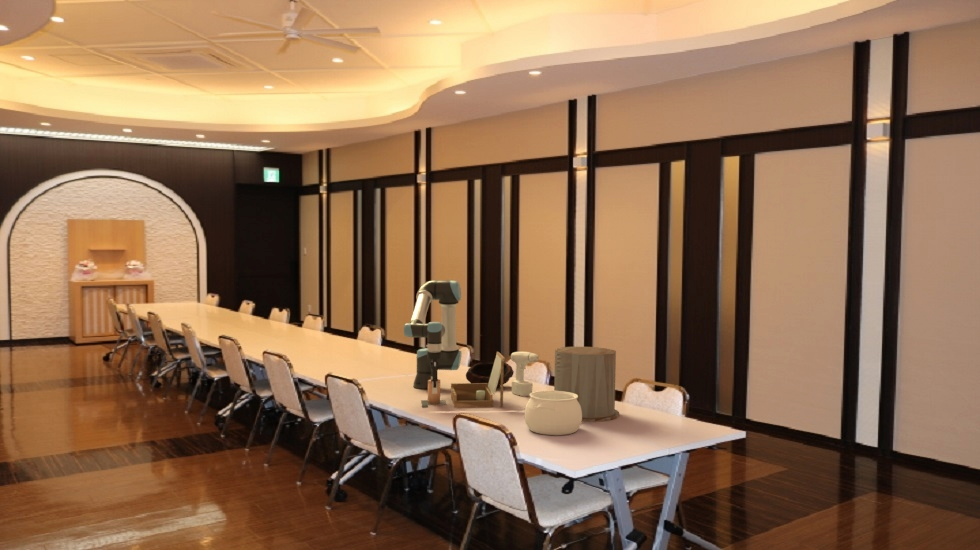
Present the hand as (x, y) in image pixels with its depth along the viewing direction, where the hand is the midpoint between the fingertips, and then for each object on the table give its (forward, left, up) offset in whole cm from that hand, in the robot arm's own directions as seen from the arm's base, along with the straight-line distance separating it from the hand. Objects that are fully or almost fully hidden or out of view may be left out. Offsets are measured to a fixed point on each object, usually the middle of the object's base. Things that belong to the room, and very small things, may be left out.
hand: (434, 391), depth 395 cm
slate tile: (0, 0, -7) cm, 7 cm away
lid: (0, +33, +10) cm, 34 cm away
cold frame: (+1, +23, -7) cm, 24 cm away
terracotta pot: (0, 0, -6) cm, 6 cm away
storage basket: (+27, +75, -7) cm, 80 cm away
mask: (-48, +36, -7) cm, 60 cm away
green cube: (0, +25, -6) cm, 26 cm away
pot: (+59, +52, -8) cm, 79 cm away
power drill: (-23, +53, -7) cm, 58 cm away
